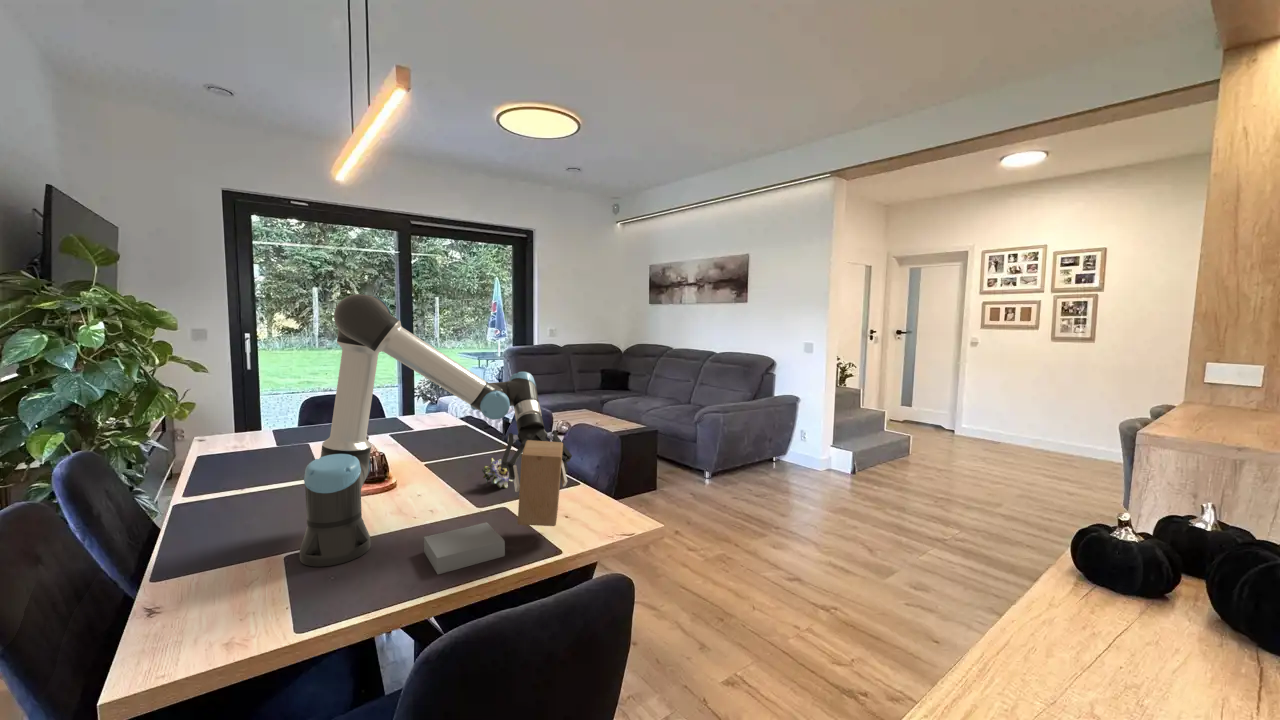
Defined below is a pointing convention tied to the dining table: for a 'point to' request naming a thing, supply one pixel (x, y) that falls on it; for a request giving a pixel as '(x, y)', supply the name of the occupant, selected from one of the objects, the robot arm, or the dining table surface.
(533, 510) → the wooden block
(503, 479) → the passion flower
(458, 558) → the plinth
